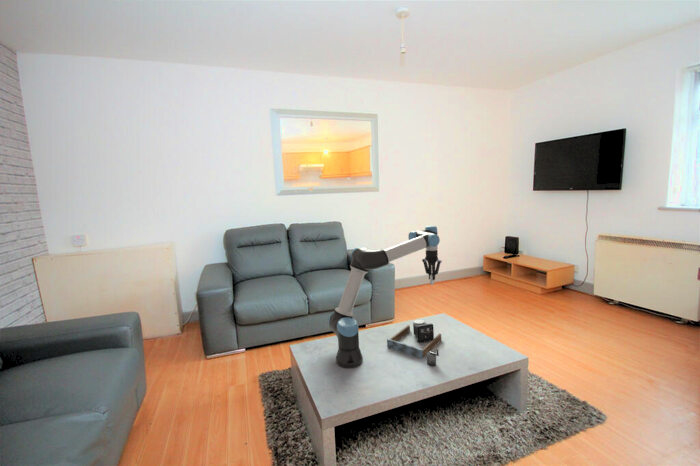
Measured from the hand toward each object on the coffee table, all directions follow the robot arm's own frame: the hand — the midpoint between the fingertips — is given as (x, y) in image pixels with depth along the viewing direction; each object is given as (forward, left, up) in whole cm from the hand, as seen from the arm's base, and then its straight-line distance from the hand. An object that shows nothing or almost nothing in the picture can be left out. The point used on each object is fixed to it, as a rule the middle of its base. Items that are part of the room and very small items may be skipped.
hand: (432, 284), depth 209 cm
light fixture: (0, -16, -31) cm, 35 cm away
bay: (0, -25, -31) cm, 40 cm away
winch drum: (+18, -40, -31) cm, 54 cm away
